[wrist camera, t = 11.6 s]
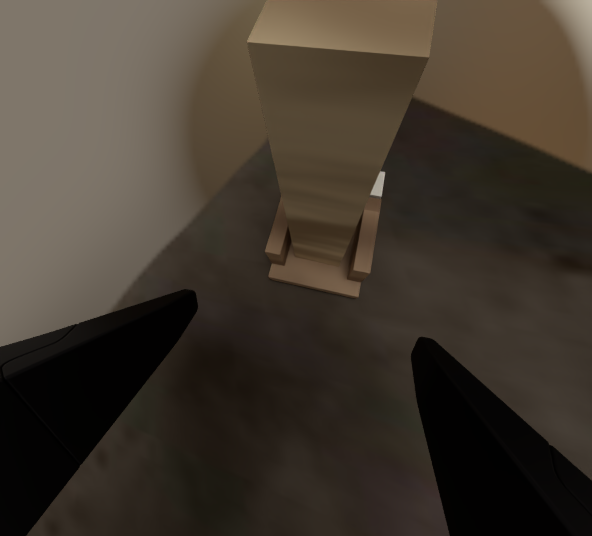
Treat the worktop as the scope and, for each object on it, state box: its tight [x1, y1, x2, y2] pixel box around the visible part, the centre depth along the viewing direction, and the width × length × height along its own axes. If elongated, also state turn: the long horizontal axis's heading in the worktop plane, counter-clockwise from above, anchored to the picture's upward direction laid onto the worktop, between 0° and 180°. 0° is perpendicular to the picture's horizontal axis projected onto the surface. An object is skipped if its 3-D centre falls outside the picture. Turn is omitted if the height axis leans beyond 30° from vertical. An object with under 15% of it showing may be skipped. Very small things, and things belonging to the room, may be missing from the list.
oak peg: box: [247, 0, 437, 267], centre depth 12 cm, size 4×4×15 cm
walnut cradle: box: [265, 196, 381, 299], centre depth 18 cm, size 8×8×4 cm
